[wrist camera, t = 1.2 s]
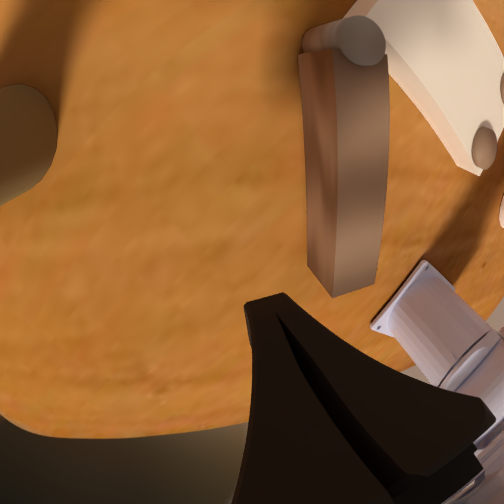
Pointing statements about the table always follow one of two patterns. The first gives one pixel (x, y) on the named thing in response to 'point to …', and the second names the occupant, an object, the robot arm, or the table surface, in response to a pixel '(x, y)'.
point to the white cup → (501, 213)
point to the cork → (24, 139)
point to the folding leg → (345, 149)
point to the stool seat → (446, 71)
